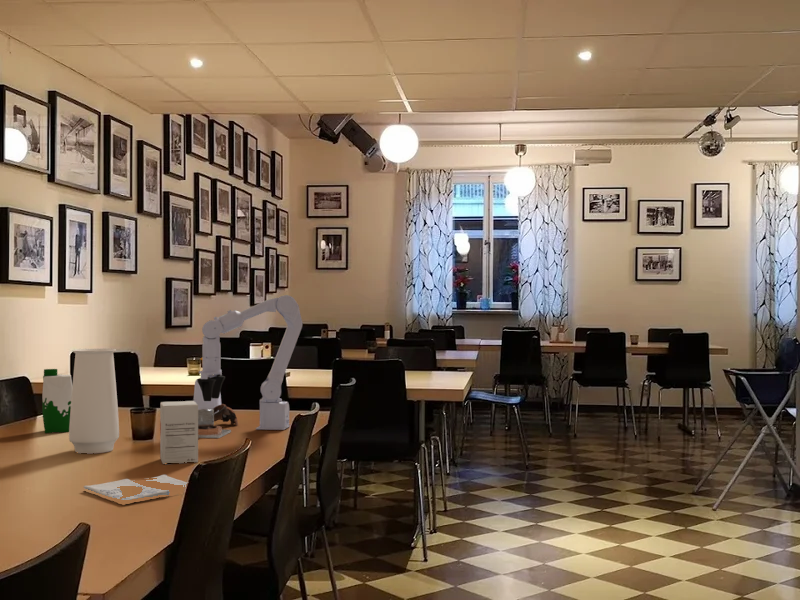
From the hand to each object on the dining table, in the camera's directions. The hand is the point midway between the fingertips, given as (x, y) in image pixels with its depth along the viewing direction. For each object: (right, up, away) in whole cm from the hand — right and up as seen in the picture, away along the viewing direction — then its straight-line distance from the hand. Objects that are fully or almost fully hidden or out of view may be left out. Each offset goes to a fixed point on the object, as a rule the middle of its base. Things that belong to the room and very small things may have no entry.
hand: (211, 399), depth 259 cm
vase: (-24, -10, -37) cm, 45 cm away
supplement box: (+4, -10, -52) cm, 53 cm away
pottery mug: (+1, -10, +11) cm, 15 cm away
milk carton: (-49, -10, -1) cm, 50 cm away
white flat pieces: (+6, -10, -86) cm, 87 cm away
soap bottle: (-9, -11, +35) cm, 38 cm away
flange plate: (+1, -10, -9) cm, 13 cm away
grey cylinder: (0, -9, -9) cm, 13 cm away
